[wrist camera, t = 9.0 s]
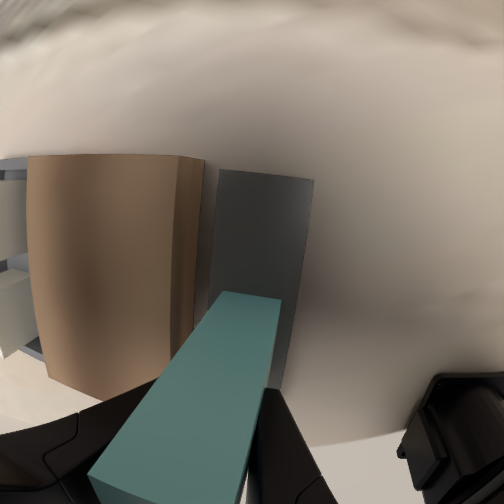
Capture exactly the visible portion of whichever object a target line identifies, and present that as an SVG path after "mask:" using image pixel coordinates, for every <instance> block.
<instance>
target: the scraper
mask: <svg viewBox="0 0 504 504" xmlns="http://www.w3.org/2000/svg"><path fill="white" fill-rule="evenodd" d="M313 185H314V180H311V179H303V178H296V177H288V176H280V175H271V174H263V173H253V172H244V171H233V170H222V169H219V177H218V187H217V197H216V208H215V219H214V230H213V242H212V254H211V267H210V281H209V296H208V311H207V313H206V314H205V316H204V317H203V318H202V320H201V321H200V322H199V324H198V325H197V326H196V328H195V329H194V330H193V332H192V333H191V334H190V336H189V337H188V339H187V340H186V341H185V343H184V344H183V345H182V347H181V348H180V349H179V351H178V352H177V353H176V355H175V356H174V357H173V359H172V360H171V361H170V363H169V364H168V366H167V367H166V368H165V370H164V371H163V372H162V374H161V375H160V376H159V378H158V379H157V380H156V382H155V383H154V384H153V386H152V387H151V388H150V390H149V391H148V393H147V394H146V395H145V397H144V398H143V399H142V401H141V402H140V403H139V405H138V406H137V407H136V409H135V410H134V411H133V413H132V414H131V415H130V417H129V418H128V420H127V421H126V422H125V424H124V425H123V426H122V428H121V429H120V430H119V432H118V433H117V434H116V436H115V437H114V438H113V440H112V441H111V442H110V444H109V445H108V447H107V448H106V449H105V451H104V452H103V453H102V455H101V456H100V457H99V459H98V460H97V461H96V463H95V464H94V465H93V467H92V468H91V470H90V471H89V472H88V474H87V475H88V477H89V480H90V482H91V484H92V486H93V488H94V490H95V492H96V494H97V496H98V498H99V500H100V502H101V504H240V501H241V497H242V493H243V489H244V485H245V481H246V477H247V473H248V468H249V462H250V457H251V452H252V446H253V441H254V435H255V430H256V424H257V419H258V414H259V410H260V406H261V402H262V398H263V394H264V389H265V388H266V387H267V388H274V389H279V390H280V388H281V383H282V378H283V373H284V368H285V363H286V358H287V352H288V347H289V342H290V336H291V331H292V325H293V319H294V314H295V308H296V302H297V296H298V290H299V284H300V278H301V271H302V265H303V258H304V252H305V245H306V238H307V231H308V224H309V216H310V209H311V201H312V193H313Z"/></svg>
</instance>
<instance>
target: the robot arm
mask: <svg viewBox="0 0 504 504" xmlns="http://www.w3.org/2000/svg"><path fill="white" fill-rule="evenodd" d="M158 378H159V377H158ZM158 378H156V379H153V380H151V381H149V382H147V383H145V384H143V385H140V386H138V387H136V388H134V389H131V390H129V391H127V392H125V393H122V394H120V395H118V396H115V397H113V398H111V399H108V400H106V401H104V402H101V403H99V404H97V405H94V406H92V407H89V408H87V409H84V410H82V411H80V412H79V413H74V414H72V415H69V416H67V417H64V418H61V419H58V420H55V421H52V422H50V423H46V424H43V425H39V426H35V427H32V428H28V429H23V430H19V431H15V432H10V433H6V434H1V435H0V504H101V502H100V500H99V498H98V496H97V494H96V492H95V490H94V488H93V486H92V484H91V482H90V480H89V477H88V475H87V474H88V472H89V471H90V470H91V468H92V467H93V465H94V464H95V463H96V461H97V460H98V459H99V457H100V456H101V455H102V453H103V452H104V451H105V449H106V448H107V447H108V445H109V444H110V442H111V441H112V440H113V438H114V437H115V436H116V434H117V433H118V432H119V430H120V429H121V428H122V426H123V425H124V424H125V422H126V421H127V420H128V418H129V417H130V415H131V414H132V413H133V411H134V410H135V409H136V407H137V406H138V405H139V403H140V402H141V401H142V399H143V398H144V397H145V395H146V394H147V393H148V391H149V390H150V388H151V387H152V386H153V384H154V383H155V382H156V380H157V379H158ZM440 382H442V383H441V384H440V385H438V384H439V383H440ZM397 456H398V458H400V459H407V462H408V466H409V470H410V474H411V477H412V482H413V486H414V488H415V490H417V491H422V494H423V498H424V502H425V504H504V373H479V374H439V375H437V376H435V377H434V378H433V380H432V382H431V384H430V386H429V388H428V391H427V393H426V395H425V397H424V399H423V401H422V403H421V406H420V408H419V409H418V410H417V411H416V413H415V415H414V417H413V419H412V421H411V423H410V425H409V427H408V429H407V431H406V433H405V434H404V436H403V438H402V442H401V444H400V445H399V447H398V449H397ZM246 504H338V503H337V501H336V499H335V498H334V496H333V494H332V492H331V491H330V489H329V487H328V485H327V483H326V481H325V479H324V478H323V476H321V472H320V470H319V468H318V466H317V464H316V462H315V460H314V458H313V456H312V454H311V452H310V450H309V448H308V446H307V444H306V442H305V440H304V438H303V436H302V434H301V432H300V430H299V428H298V426H297V424H296V422H295V420H294V418H293V416H292V414H291V412H290V410H289V408H288V406H287V404H286V402H285V400H284V398H283V396H282V394H281V392H280V390H279V389H274V388H267V387H266V388H265V389H264V394H263V398H262V402H261V406H260V410H259V414H258V419H257V424H256V430H255V435H254V441H253V446H252V452H251V457H250V462H249V468H248V481H247V494H246Z"/></svg>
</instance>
